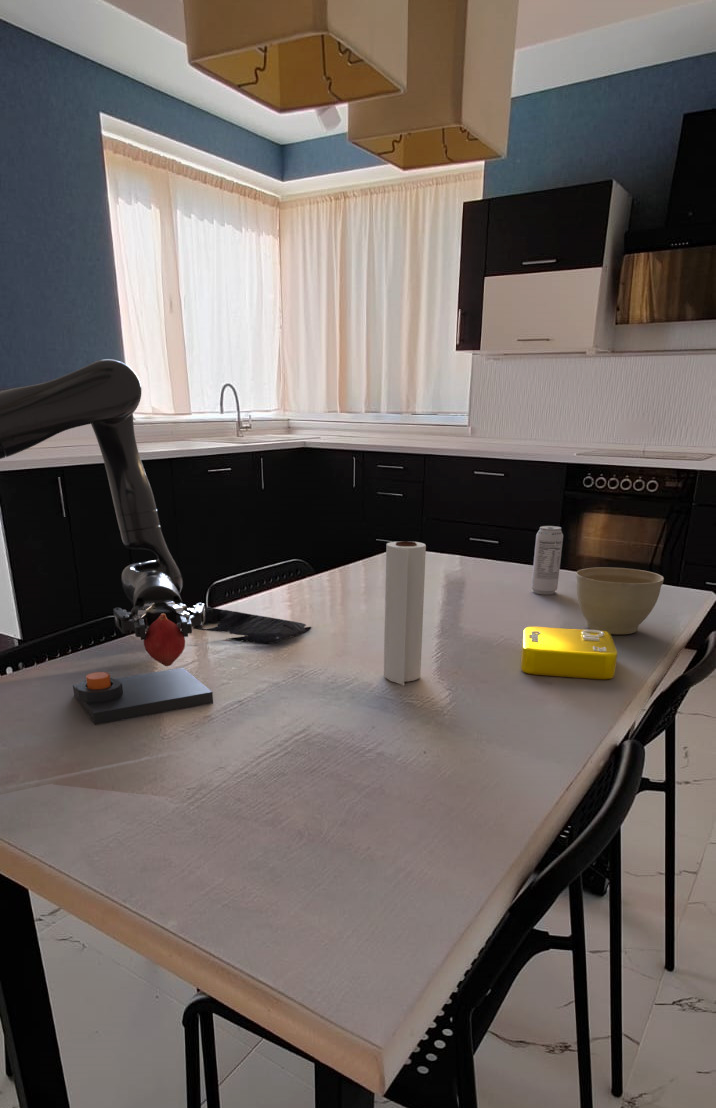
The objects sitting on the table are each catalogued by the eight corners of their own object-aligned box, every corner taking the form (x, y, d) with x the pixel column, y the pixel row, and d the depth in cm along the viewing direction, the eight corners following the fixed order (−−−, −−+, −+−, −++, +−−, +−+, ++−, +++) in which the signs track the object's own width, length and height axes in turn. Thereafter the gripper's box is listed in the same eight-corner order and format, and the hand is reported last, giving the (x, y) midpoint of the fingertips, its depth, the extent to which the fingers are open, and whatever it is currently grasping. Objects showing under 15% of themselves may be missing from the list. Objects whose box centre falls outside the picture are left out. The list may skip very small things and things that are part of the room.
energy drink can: (556, 590, 184) (564, 526, 178) (556, 595, 179) (564, 529, 173) (531, 588, 185) (537, 525, 180) (530, 594, 180) (536, 528, 174)
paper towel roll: (396, 668, 129) (400, 538, 120) (427, 675, 126) (433, 542, 117) (371, 679, 123) (374, 544, 115) (403, 687, 120) (408, 548, 112)
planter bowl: (672, 632, 151) (681, 577, 146) (618, 645, 142) (627, 587, 138) (605, 615, 163) (612, 563, 158) (552, 626, 154) (558, 571, 150)
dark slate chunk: (275, 651, 137) (274, 625, 135) (177, 635, 146) (175, 610, 144) (317, 631, 149) (317, 607, 148) (224, 617, 158) (223, 594, 156)
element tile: (521, 648, 140) (524, 622, 138) (607, 654, 137) (610, 628, 135) (520, 674, 126) (523, 646, 125) (615, 681, 124) (619, 652, 122)
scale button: (90, 692, 108) (88, 680, 107) (85, 685, 110) (83, 673, 110) (113, 688, 109) (112, 676, 109) (107, 681, 112) (106, 670, 111)
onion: (138, 669, 113) (132, 616, 109) (161, 657, 118) (156, 606, 114) (172, 674, 111) (167, 620, 107) (194, 662, 116) (190, 610, 112)
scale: (91, 726, 105) (87, 702, 103) (70, 697, 115) (67, 675, 113) (213, 704, 113) (211, 681, 111) (184, 678, 123) (182, 657, 122)
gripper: (108, 582, 121) (108, 608, 106) (200, 577, 125) (213, 602, 110) (113, 628, 124) (114, 660, 109) (204, 622, 128) (216, 652, 113)
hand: (164, 631), depth 109 cm, fingers closed on onion, 5 cm apart
